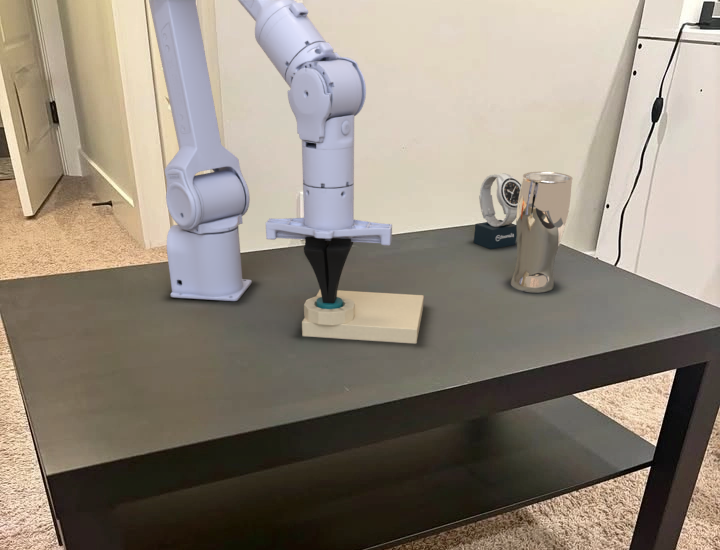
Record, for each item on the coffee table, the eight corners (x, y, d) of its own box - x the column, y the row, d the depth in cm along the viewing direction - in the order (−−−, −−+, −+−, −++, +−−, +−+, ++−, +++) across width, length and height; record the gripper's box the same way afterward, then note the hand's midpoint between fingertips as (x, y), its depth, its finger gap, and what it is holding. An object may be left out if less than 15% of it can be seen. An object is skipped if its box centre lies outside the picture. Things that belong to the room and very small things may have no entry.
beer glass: (543, 297, 103) (560, 184, 95) (499, 287, 107) (512, 176, 99) (564, 284, 108) (582, 175, 100) (521, 275, 112) (535, 169, 103)
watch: (498, 252, 121) (506, 181, 115) (467, 240, 127) (473, 171, 121) (523, 247, 124) (533, 177, 118) (492, 235, 130) (499, 168, 123)
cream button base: (300, 338, 90) (300, 310, 88) (319, 302, 101) (319, 277, 99) (416, 346, 89) (417, 318, 87) (423, 309, 99) (424, 283, 97)
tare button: (314, 318, 90) (314, 304, 89) (319, 308, 93) (319, 295, 92) (340, 319, 90) (340, 305, 89) (344, 310, 93) (344, 296, 92)
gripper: (256, 188, 80) (263, 308, 88) (389, 193, 79) (385, 315, 86) (271, 174, 86) (277, 288, 94) (395, 179, 85) (391, 295, 92)
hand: (329, 300), depth 90 cm, fingers closed, pressing on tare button
